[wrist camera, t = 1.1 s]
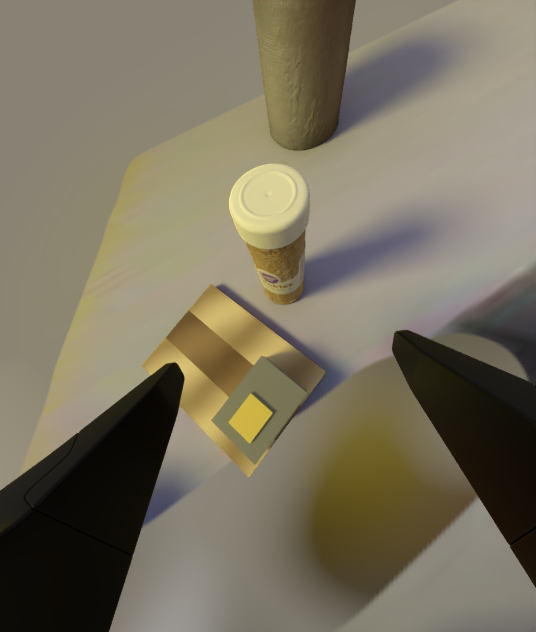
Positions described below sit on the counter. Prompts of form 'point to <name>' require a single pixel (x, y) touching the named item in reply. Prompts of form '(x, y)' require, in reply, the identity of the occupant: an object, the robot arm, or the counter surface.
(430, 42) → the counter surface
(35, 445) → the counter surface
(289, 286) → the sprinkles bottle
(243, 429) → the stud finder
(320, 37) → the pillar candle
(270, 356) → the plywood board
